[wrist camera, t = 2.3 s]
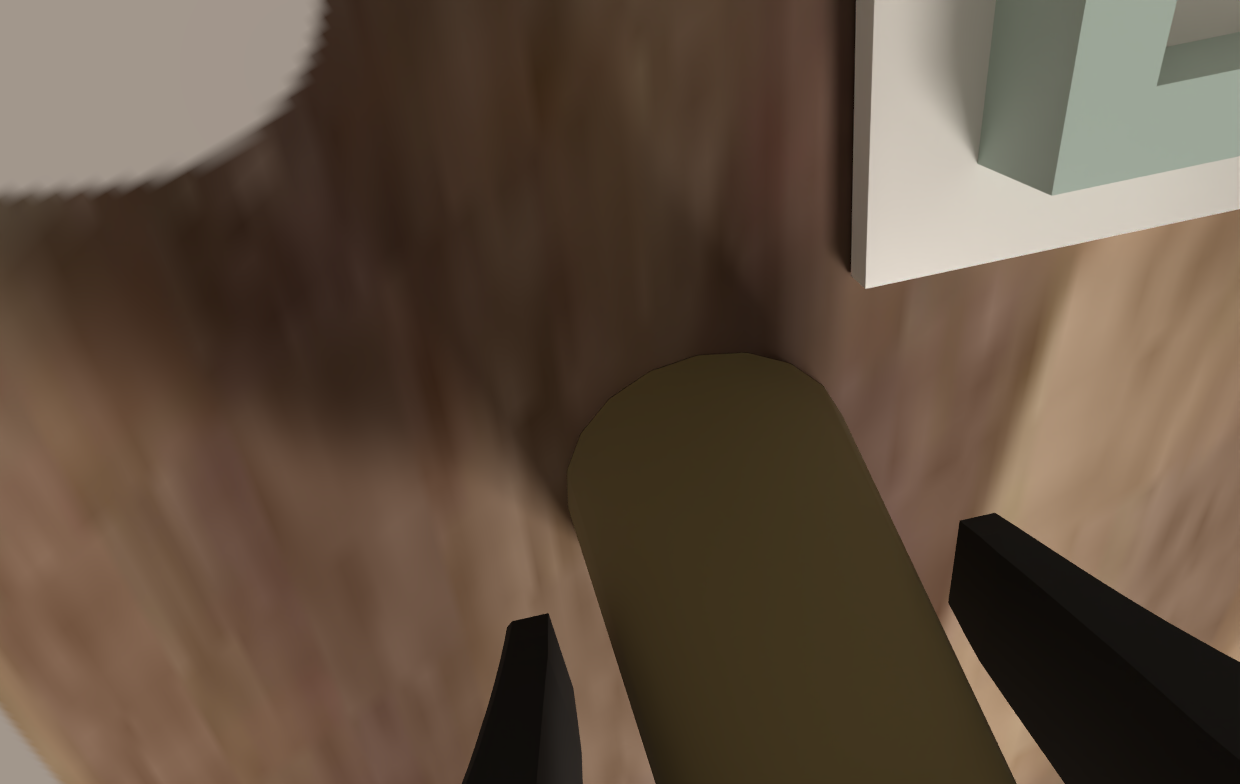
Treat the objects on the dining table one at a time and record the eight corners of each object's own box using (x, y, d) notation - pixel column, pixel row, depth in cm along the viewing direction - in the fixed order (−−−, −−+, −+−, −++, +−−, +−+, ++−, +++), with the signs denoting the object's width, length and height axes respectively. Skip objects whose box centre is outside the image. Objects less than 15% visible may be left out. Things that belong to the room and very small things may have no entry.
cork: (640, 616, 17) (811, 1441, 7) (510, 440, 13) (518, 1504, 4) (878, 511, 16) (1399, 1284, 7) (799, 298, 13) (1590, 1212, 3)
